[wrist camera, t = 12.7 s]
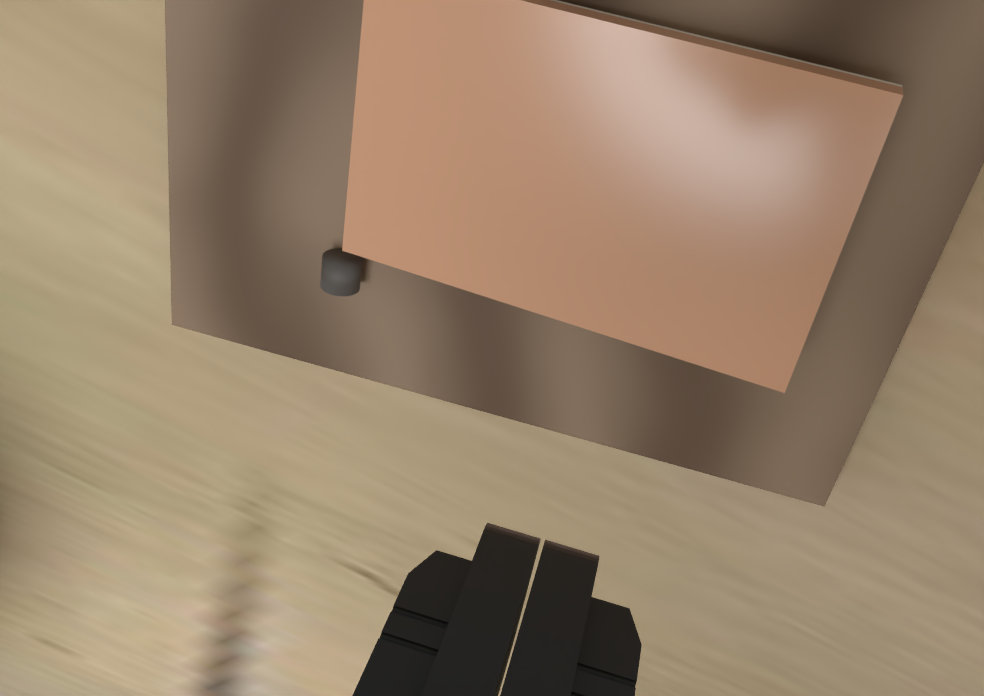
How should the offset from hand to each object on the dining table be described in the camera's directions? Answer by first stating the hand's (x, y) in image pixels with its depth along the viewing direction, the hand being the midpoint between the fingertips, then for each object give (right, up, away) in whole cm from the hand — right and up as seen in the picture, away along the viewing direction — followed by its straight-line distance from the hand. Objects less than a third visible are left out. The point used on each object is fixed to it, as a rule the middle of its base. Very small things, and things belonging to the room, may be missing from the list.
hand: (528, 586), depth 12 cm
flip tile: (+2, +7, +12) cm, 14 cm away
